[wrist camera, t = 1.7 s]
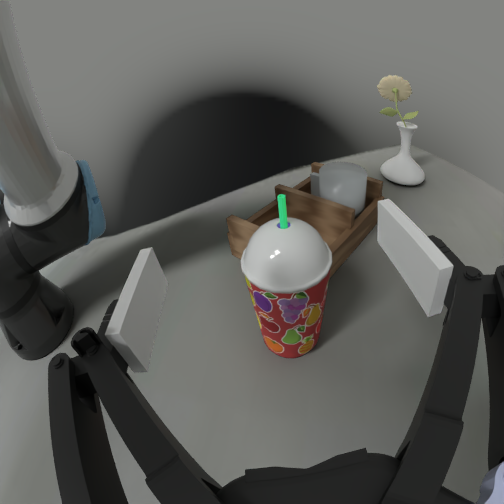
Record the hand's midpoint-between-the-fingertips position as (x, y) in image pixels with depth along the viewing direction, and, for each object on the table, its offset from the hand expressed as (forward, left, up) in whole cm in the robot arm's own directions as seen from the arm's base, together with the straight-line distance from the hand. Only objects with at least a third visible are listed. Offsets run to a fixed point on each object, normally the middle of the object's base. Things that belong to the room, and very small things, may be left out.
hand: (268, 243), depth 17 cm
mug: (-13, +31, -20) cm, 39 cm away
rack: (-14, +25, -21) cm, 36 cm away
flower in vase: (-9, +56, -22) cm, 61 cm away
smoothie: (-4, +6, -22) cm, 23 cm away
